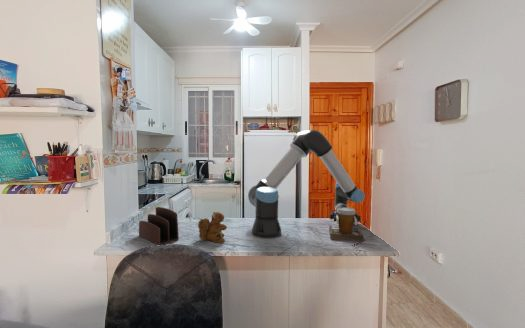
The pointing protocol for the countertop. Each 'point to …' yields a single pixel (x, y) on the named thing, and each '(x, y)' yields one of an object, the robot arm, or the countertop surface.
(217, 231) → the stuffed squirrel
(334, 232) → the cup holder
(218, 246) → the countertop surface
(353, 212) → the disposable coffee cup
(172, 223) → the letter holder
